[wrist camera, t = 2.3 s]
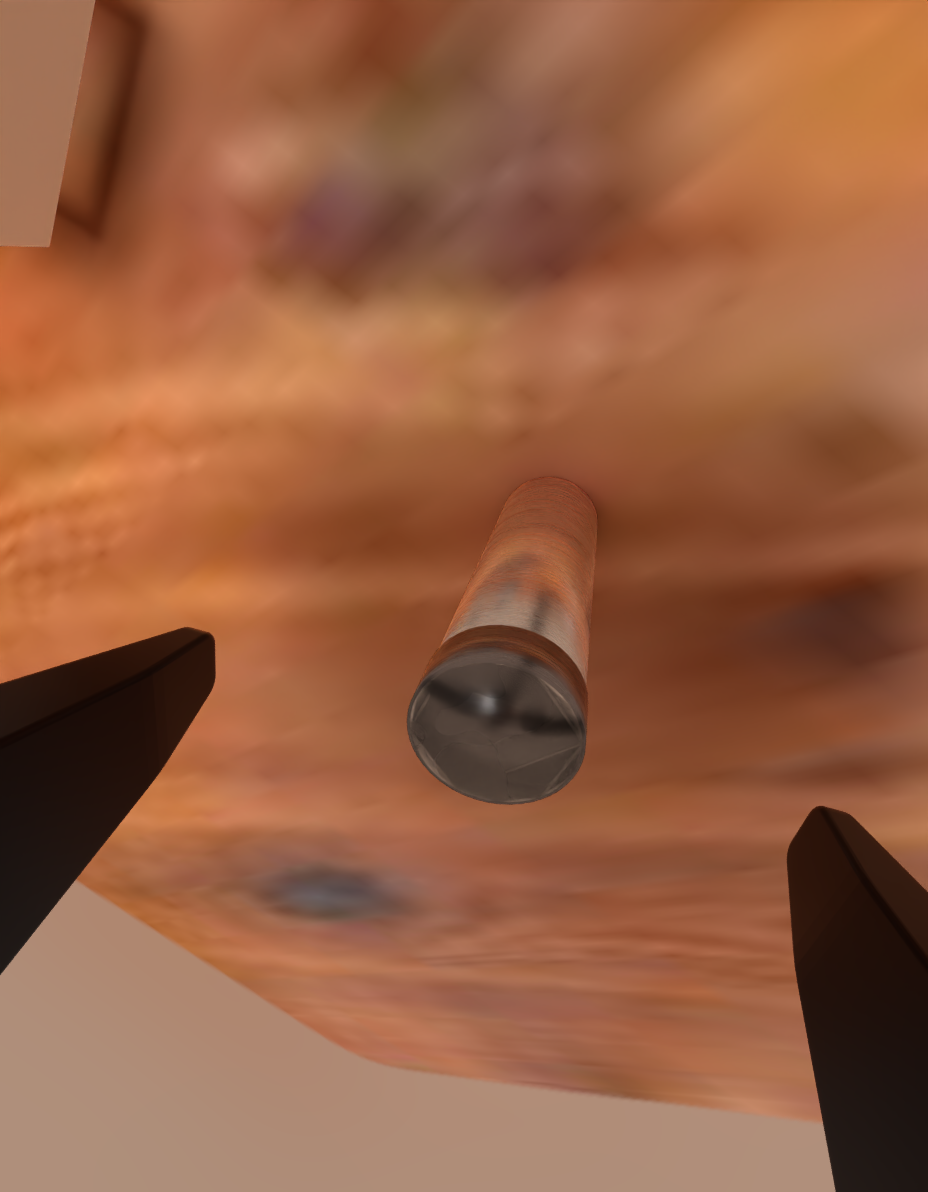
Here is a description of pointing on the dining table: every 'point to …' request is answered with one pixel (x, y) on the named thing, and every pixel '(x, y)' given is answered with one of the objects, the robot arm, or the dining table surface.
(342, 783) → the dining table surface
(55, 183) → the lever
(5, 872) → the robot arm
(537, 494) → the metal cylinder
